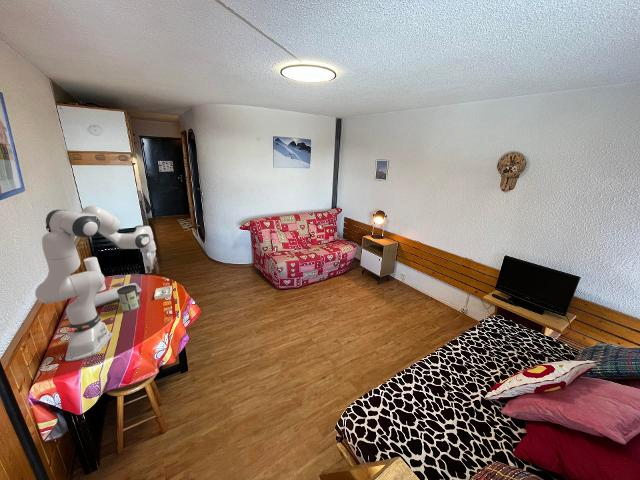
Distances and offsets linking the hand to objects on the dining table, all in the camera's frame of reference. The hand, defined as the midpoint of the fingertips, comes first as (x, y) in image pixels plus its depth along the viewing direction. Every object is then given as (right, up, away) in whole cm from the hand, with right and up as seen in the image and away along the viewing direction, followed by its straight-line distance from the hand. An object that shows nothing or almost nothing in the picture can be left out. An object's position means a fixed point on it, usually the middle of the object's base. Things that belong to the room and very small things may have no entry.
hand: (152, 267), depth 178 cm
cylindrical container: (-50, -19, +16) cm, 55 cm away
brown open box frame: (0, -4, +1) cm, 4 cm away
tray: (-31, -23, +5) cm, 39 cm away
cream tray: (+3, -21, +9) cm, 23 cm away
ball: (+3, -20, +8) cm, 22 cm away
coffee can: (-10, -26, -6) cm, 29 cm away
